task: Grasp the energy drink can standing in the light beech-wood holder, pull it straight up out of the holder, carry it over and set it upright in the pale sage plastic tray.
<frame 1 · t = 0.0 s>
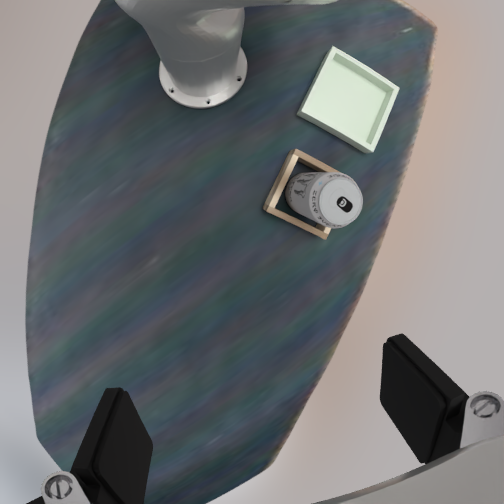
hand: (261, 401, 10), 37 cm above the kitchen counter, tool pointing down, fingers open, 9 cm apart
wooden square frame: (304, 193, 46), on the kitchen counter
energy drink can: (303, 193, 46), resting in wooden square frame
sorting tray: (346, 101, 43), on the kitchen counter
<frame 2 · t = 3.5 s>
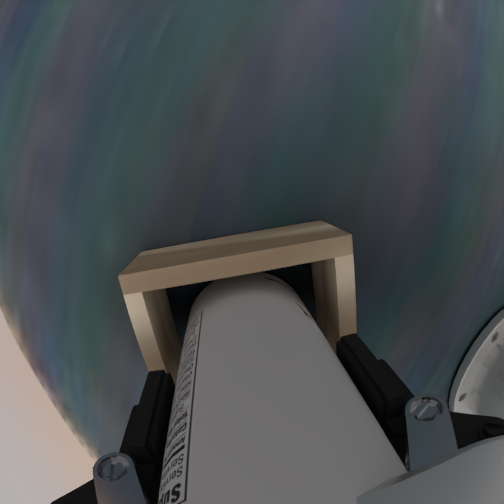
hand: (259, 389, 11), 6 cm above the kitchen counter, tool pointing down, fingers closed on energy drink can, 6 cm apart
wooden square frame: (246, 319, 17), on the kitchen counter
energy drink can: (245, 317, 17), resting in wooden square frame, touching gripper
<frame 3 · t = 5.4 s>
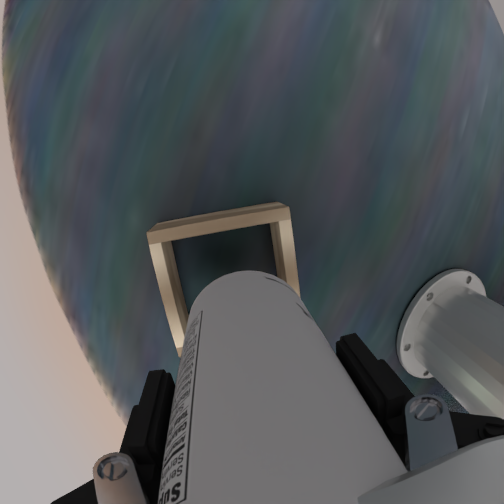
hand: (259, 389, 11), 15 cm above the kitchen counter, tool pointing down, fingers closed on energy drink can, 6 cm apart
wooden square frame: (227, 270, 25), on the kitchen counter
energy drink can: (245, 317, 17), point 8 cm above the kitchen counter, touching gripper
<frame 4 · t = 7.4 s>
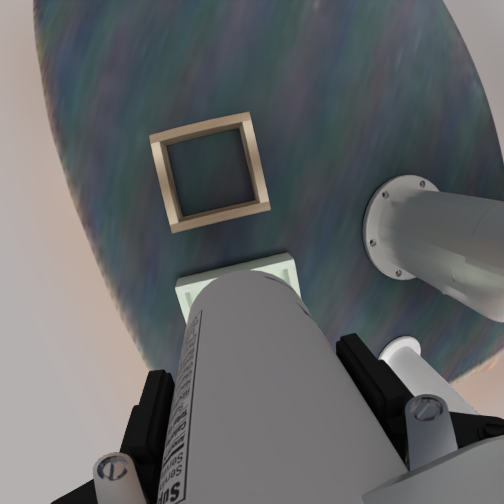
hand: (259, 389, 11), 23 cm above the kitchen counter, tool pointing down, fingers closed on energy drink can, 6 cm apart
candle: (397, 356, 40), on the kitchen counter
wooden square frame: (210, 172, 31), on the kitchen counter
energy drink can: (245, 317, 17), point 17 cm above the kitchen counter, touching gripper
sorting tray: (245, 315, 35), on the kitchen counter
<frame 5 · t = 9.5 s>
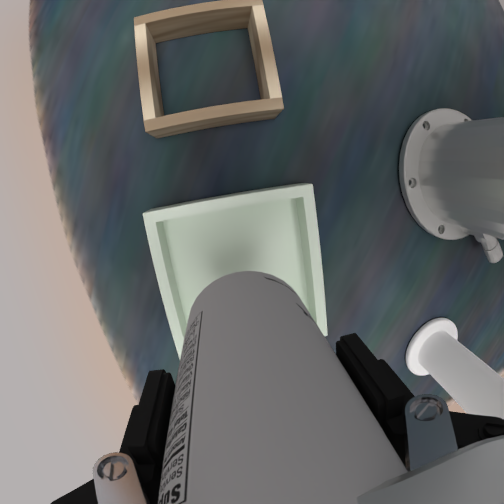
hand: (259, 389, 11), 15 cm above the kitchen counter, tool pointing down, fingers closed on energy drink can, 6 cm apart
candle: (430, 345, 30), on the kitchen counter
wooden square frame: (207, 73, 22), on the kitchen counter
energy drink can: (245, 317, 17), point 9 cm above the kitchen counter, touching gripper
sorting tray: (239, 268, 26), on the kitchen counter
when the fingers open (8 cm above the kitchen counter, at t = 11.3 s): energy drink can drops 1 cm, resting on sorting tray.
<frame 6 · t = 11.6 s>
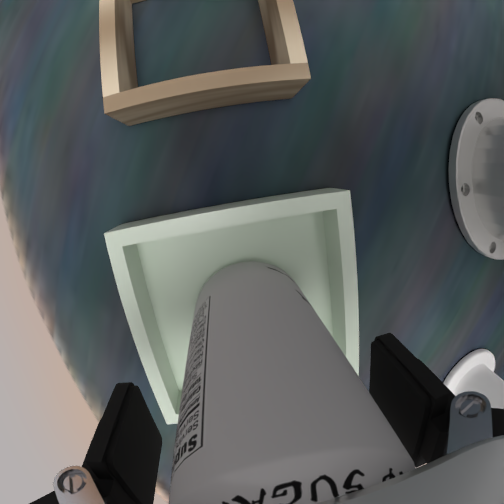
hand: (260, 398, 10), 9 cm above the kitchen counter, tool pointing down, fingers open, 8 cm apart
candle: (464, 379, 23), on the kitchen counter
wooden square frame: (198, 37, 15), on the kitchen counter
energy drink can: (248, 305, 18), resting on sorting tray
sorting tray: (242, 304, 19), on the kitchen counter
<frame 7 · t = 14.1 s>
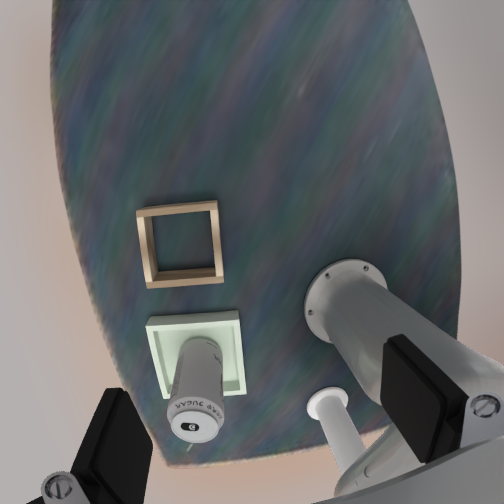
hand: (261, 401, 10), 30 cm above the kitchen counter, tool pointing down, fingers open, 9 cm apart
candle: (326, 401, 48), on the kitchen counter
wooden square frame: (183, 240, 39), on the kitchen counter
energy drink can: (201, 352, 43), resting on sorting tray
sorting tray: (199, 351, 43), on the kitchen counter
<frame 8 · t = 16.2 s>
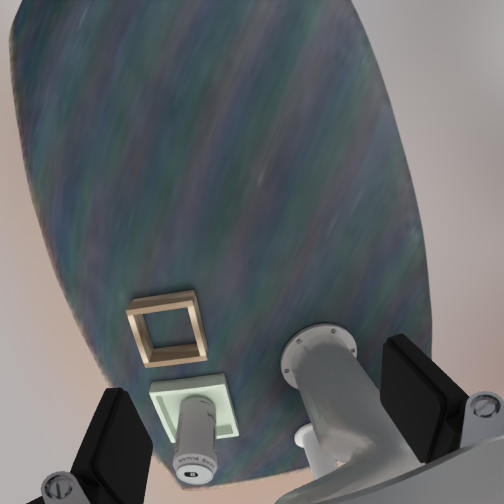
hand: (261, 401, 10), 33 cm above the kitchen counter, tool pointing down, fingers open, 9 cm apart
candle: (311, 433, 53), on the kitchen counter
wooden square frame: (170, 323, 45), on the kitchen counter
energy drink can: (198, 406, 48), resting on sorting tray
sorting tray: (196, 405, 49), on the kitchen counter
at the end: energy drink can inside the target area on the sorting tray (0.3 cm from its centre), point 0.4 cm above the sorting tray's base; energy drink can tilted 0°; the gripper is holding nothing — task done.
